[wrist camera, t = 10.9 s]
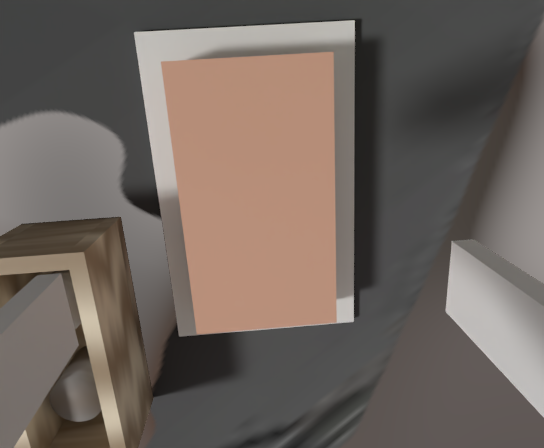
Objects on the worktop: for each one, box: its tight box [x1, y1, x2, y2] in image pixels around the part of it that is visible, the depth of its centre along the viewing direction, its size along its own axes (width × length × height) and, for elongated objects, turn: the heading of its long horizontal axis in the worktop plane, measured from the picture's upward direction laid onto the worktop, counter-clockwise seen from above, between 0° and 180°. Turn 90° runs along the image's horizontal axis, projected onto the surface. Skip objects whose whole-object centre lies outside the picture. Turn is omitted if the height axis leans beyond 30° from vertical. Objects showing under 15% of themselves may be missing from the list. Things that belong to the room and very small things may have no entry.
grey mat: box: [134, 20, 355, 337], centre depth 29 cm, size 22×14×1 cm, turn 3°
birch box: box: [0, 217, 153, 448], centre depth 28 cm, size 16×7×7 cm, turn 3°
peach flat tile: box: [161, 52, 337, 334], centre depth 27 cm, size 18×10×3 cm, turn 3°
